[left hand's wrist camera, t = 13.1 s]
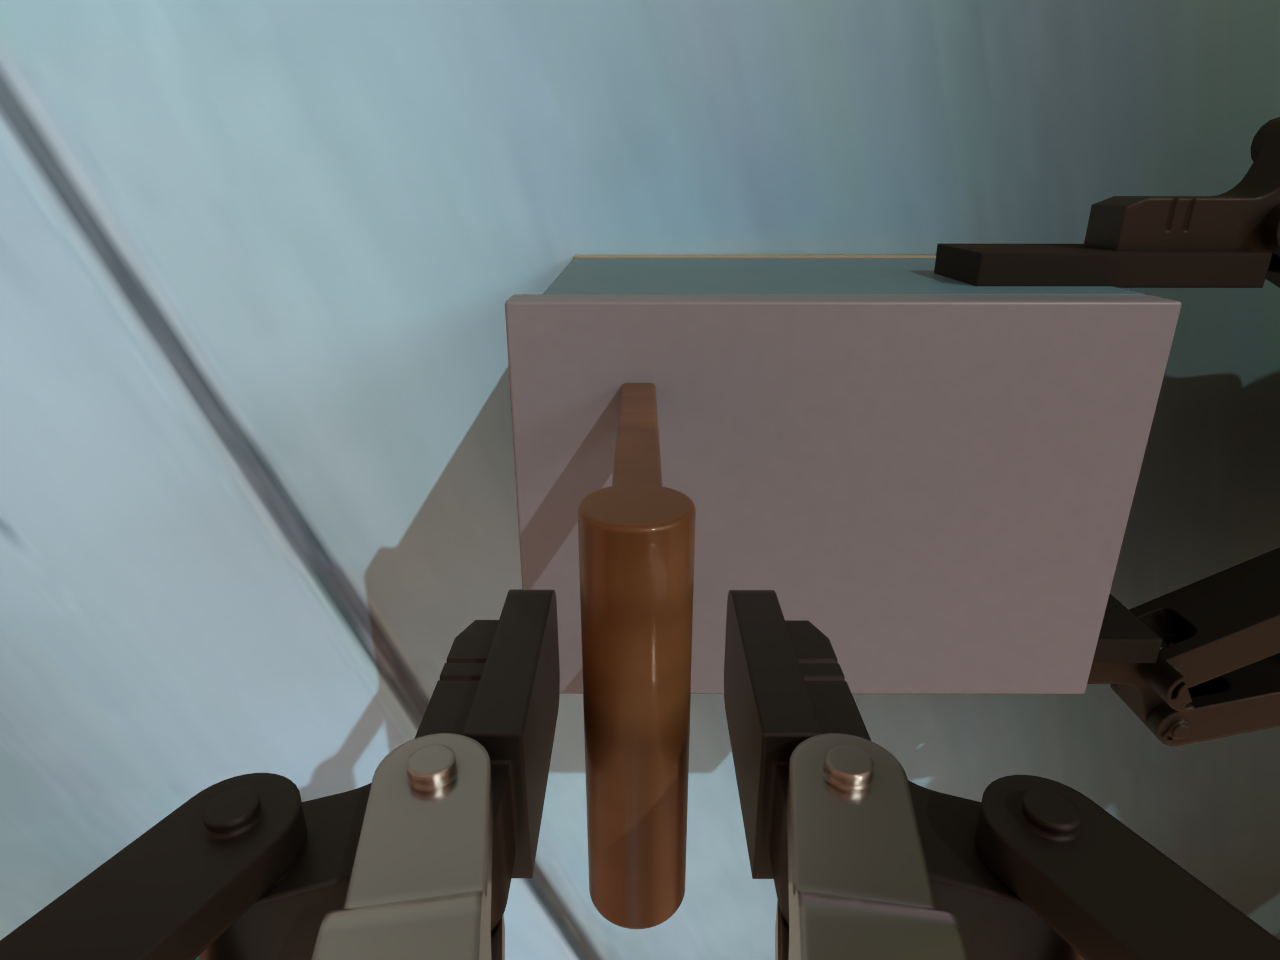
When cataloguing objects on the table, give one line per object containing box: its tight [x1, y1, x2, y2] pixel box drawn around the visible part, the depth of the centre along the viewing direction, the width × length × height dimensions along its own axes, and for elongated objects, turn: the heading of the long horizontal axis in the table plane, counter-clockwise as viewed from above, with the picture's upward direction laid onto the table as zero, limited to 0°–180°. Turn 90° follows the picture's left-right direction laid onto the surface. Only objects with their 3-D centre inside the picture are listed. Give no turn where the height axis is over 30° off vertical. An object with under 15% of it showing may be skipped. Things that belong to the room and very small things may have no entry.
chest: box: [543, 255, 1146, 295], centre depth 22 cm, size 13×9×9 cm
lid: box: [505, 295, 1182, 929], centre depth 14 cm, size 14×9×8 cm
